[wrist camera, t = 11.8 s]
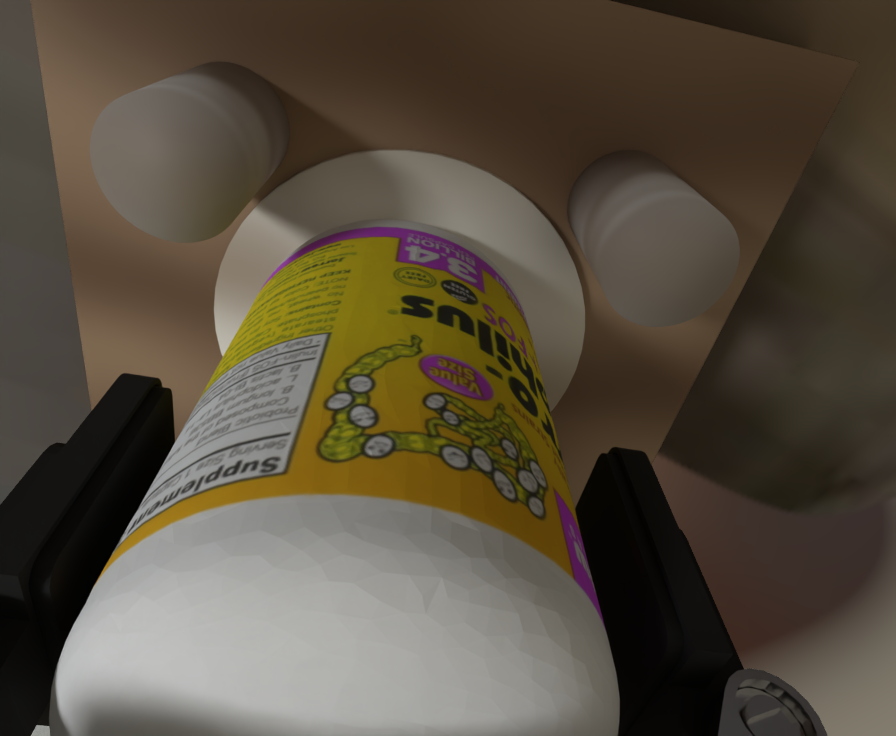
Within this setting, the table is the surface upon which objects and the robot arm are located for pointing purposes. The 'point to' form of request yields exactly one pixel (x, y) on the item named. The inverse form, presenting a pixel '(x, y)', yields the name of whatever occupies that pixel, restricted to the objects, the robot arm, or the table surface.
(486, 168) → the stub board
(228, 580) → the supplement bottle
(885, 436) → the table surface
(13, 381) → the table surface
